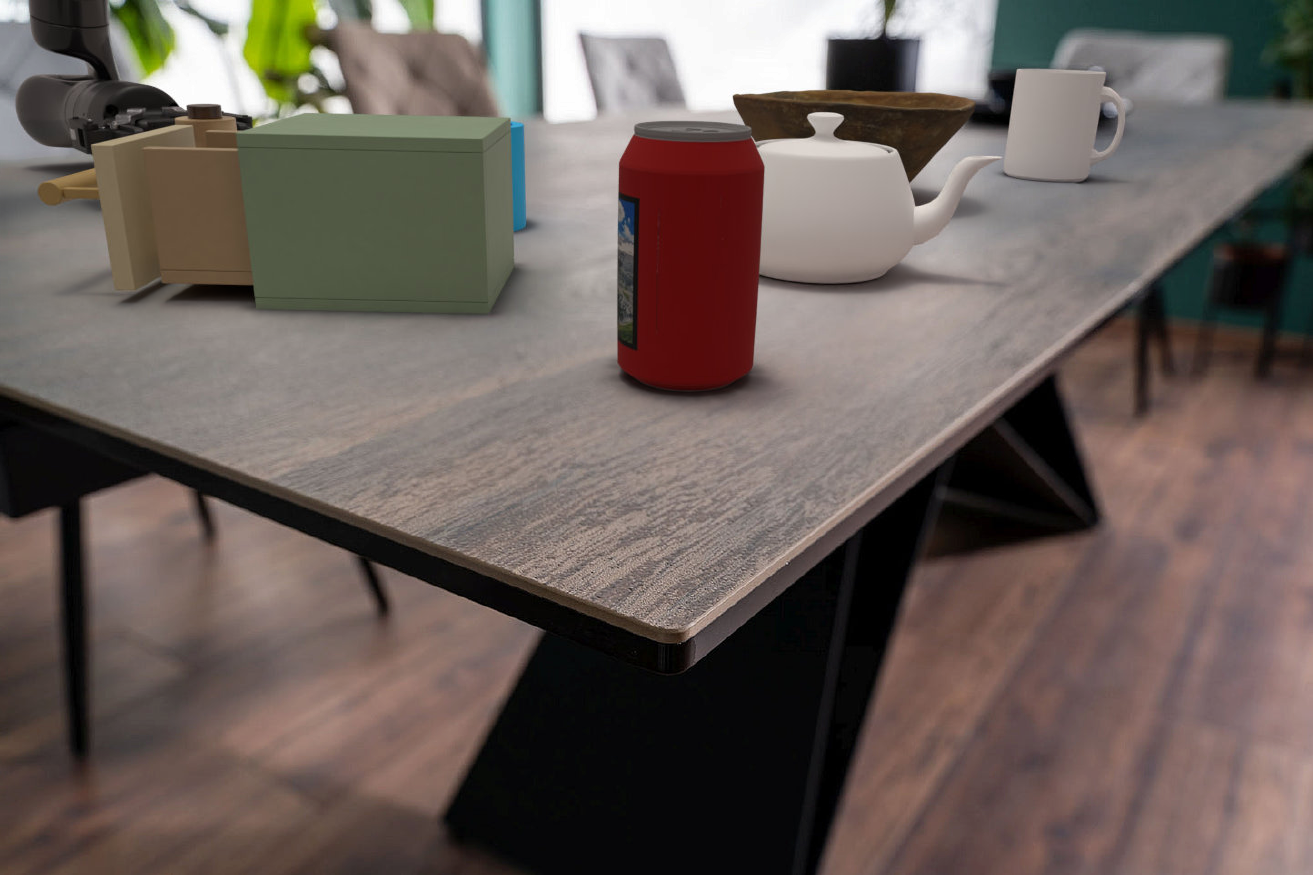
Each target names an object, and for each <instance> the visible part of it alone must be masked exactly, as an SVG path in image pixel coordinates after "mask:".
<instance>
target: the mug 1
mask: <svg viewBox="0 0 1313 875" xmlns="http://www.w3.org/2000/svg"><path fill="white" fill-rule="evenodd" d="M510 131H511V155H512V193H513V232H517V231H521V230H523V229H525V228H526V226H527V199H526V198H527V196H526V195H527V194H526V191H527V190H526V154H525V152H526V151H525V150H526V149H525V148H526V147H525V145H526V144H525V124H524V123H523V122H519V121H513V120H511V130H510Z"/></svg>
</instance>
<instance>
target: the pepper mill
mask: <svg viewBox="0 0 1313 875" xmlns="http://www.w3.org/2000/svg"><path fill="white" fill-rule="evenodd" d="M185 106H186V110H187V115H188V116H183V117H177V118H175V125H192V126H193V131H194V138H195V146H196V148H207V142H206V134H205V131H208V130H230V131H237V126H236V118H235V117H231V116H222V111H223V110H222V105H221V104H218V103H192V104H190V103H189V104H186V105H185Z"/></svg>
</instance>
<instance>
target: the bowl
mask: <svg viewBox="0 0 1313 875" xmlns="http://www.w3.org/2000/svg"><path fill="white" fill-rule="evenodd" d="M732 101H733V102H732V103H733V105H734V108H735V109H736V111H737V113H738V115H739V116H740V118H741V120H742V122H743V125H745V126H749V127H751V129H752V133H751V137H752V139H753V141H754V143H755V142H758V141H764V140H775V139H806V138H810V137H812V136H814V135H815V133H816V131H815V129H814V127H813V126H812V125H811V123H810V122H809V121H808V118H807V117H808V114H812V113H815V112H829V113H837V114H840V115H843V117H844V120H843V121H842V123H841V124H840V125H839V126H838V127H837V128H836V129H835V130H834V132H833V135H834V137H836V138H838V139H841V140H845V141H857V142H866V143H874V144H880V145H885V146H889V147H892V148H894V149H896V150H897V151H898V153H899V155H900V158H901V161H902V164H903V166H904V169H905V172H906V175H907V178H908V181H909V184H911V182H912V181H913V180H914V179H915V178H916V177H917V176H918V175H919V174H920V173H921V172H922V171H923V170H924V169H925V167H926V166H927V165H929V163H930V162H931V161H932V160H933V158H934V157H935V156H937V154H938V153H939V152H940V151H941V150H942V149H943V148H944V147H945V146H946V145H947V144H948V142H949V141H950V140H952V138H953V137H954V136H955V135H956V134H957V133H958V132H959V131H960V130H961V129H962V128H963V126H964V125H965V124H966V123H967V122H968V120H969V119H970V117H971V116H972V115H973V113H974V112H975V109H976V107H977V106H976V104H977V103H976V101H975V100H974V99H970V98H968V97H963V96H959V95H954V94H953V95H952V94H946V93H940V92H912V91H911V92H909V91H908V92H907V91H906V92H905V91H874V90H865V91H857V90H851V89H841V90H840V89H807V90H806V89H805V90H780V91H772V92H764V93H742V94H740V93H735V94H732Z"/></svg>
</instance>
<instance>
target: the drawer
mask: <svg viewBox="0 0 1313 875" xmlns="http://www.w3.org/2000/svg"><path fill="white" fill-rule="evenodd" d="M237 132H241V131H230V130H208V131H205V134H206V142H207V148H196V146H195V138H194V131H193V126H192V125H173V126H168V127H164V128H160V129H156V130H152V131H147V132H143V133H139V134H135V135H130V136H126V137H122V138H118V139H113V140H109V141H105V142H101V143H96V144H92V145H91V148H92V154H93V156H92V161H93V167H92V168H90V169H85V170H82V171H78V172H74V173H72V174H67V175H65V176H61V177H57V178H53V179H49V180H46V181H42V182H41V183H40V184H39V185H38V188H37V195H38V198H39V200H40V201H41V202H42V203H43V204H45V205H46V206H47V205H48V206H51V207H55V206H57V205H61V204H63V203H66V202H70V201H73V200H99V202H100V208H101V214H102V221H103V227H104V232H105V238H106V245H107V252H108V257H109V263H110V269H111V275H112V281H113V287H114V290H115V291H137V290H139V289H140V288H142V287H144V286H146V285H148V284H150V283H152V282H154V281H155V280H157V279H159V278H160V279H161V283H162V284H178V285H179V284H180V285H181V284H182V285H221V286H222V285H223V286H224V285H228V286H253V277H252V269H251V260H250V252H249V243H248V235H247V226H246V217H245V209H244V200H243V192H242V183H241V175H240V166H239V157H238V149H237V148H238V146H237V139H236V133H237Z"/></svg>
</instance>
